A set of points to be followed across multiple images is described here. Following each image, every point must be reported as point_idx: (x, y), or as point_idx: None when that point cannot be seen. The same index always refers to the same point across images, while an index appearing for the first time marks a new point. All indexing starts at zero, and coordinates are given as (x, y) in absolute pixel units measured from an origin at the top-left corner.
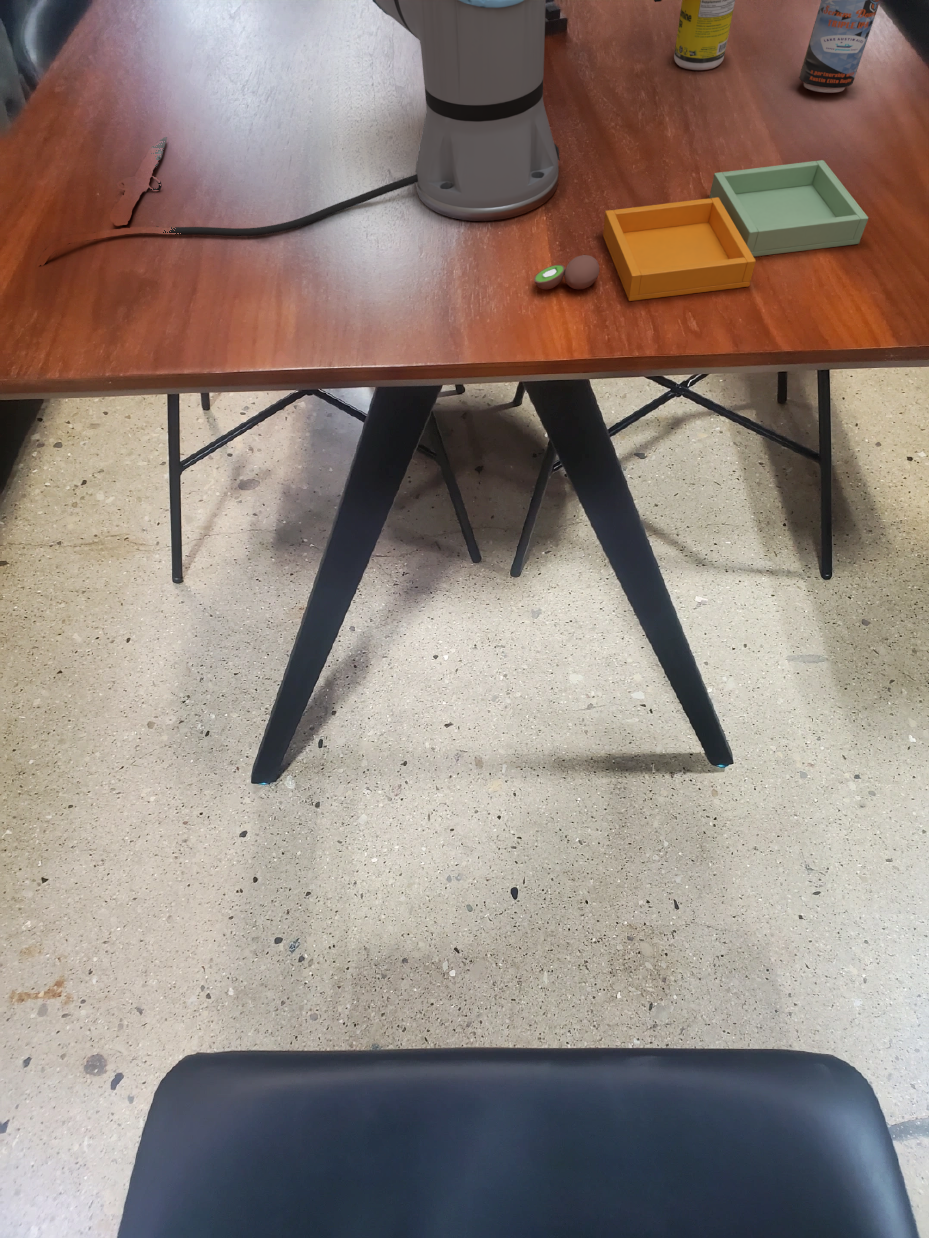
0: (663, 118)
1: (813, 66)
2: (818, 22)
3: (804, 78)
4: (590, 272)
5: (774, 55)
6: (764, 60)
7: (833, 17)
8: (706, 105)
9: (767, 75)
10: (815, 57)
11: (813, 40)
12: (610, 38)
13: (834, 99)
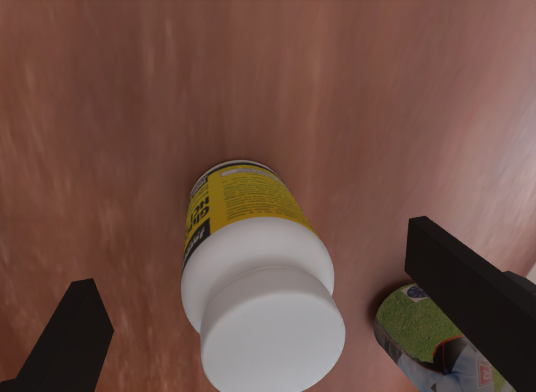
0: (159, 384)
1: (390, 356)
2: (423, 386)
3: (376, 337)
4: None
5: (382, 188)
6: (359, 207)
7: None
8: None
9: (344, 261)
10: (397, 364)
11: (406, 367)
12: (13, 35)
13: None
